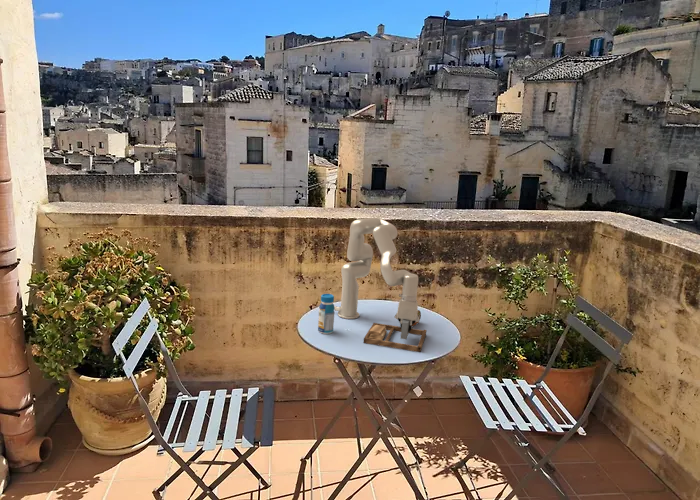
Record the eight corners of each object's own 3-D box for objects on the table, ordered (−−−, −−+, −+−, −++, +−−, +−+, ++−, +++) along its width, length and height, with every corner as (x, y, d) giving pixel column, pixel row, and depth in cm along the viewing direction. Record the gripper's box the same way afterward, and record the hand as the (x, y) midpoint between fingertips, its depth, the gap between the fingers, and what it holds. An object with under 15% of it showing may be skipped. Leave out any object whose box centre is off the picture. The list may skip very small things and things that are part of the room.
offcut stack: (368, 340, 281) (368, 331, 280) (373, 331, 293) (374, 323, 292) (382, 342, 279) (382, 333, 278) (386, 333, 291) (387, 325, 290)
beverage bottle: (331, 335, 283) (333, 298, 278) (315, 333, 284) (317, 296, 280) (335, 329, 291) (337, 294, 286) (319, 327, 292) (321, 292, 288)
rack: (363, 342, 276) (363, 337, 275) (373, 326, 299) (373, 321, 298) (420, 352, 269) (420, 346, 268) (425, 335, 292) (426, 329, 291)
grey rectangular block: (400, 338, 277) (402, 322, 275) (404, 330, 288) (405, 314, 286) (406, 339, 276) (407, 323, 274) (409, 331, 287) (411, 315, 285)
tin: (407, 329, 299) (408, 315, 297) (402, 327, 300) (403, 313, 298) (420, 322, 310) (422, 308, 308) (416, 321, 312) (417, 307, 310)
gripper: (392, 297, 276) (388, 331, 280) (424, 302, 272) (420, 336, 276) (394, 293, 283) (391, 326, 287) (425, 297, 279) (422, 331, 283)
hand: (405, 330), depth 282 cm, fingers closed on grey rectangular block, 3 cm apart
